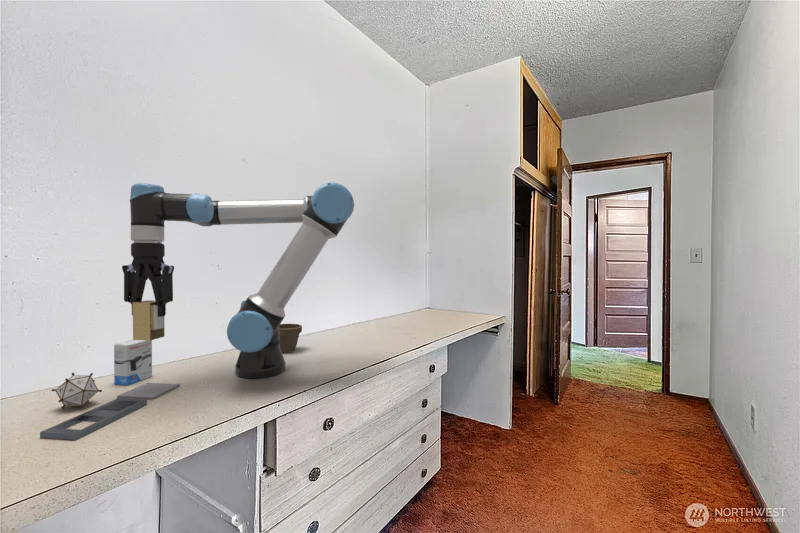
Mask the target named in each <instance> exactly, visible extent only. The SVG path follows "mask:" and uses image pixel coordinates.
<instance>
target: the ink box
mask: <svg viewBox="0 0 800 533" xmlns="http://www.w3.org/2000/svg"><path fill="white" fill-rule="evenodd" d="M152 347H153V340H151V341H149V340H133V339H130V340H129V339H128V340H125V341H121V342H117V343H115V344H114V345H113V359H114V361H113V362H114V364H113V367H114V368H113V370H114V371H113V372H114V376H113V377H114V385H119V386H120V385H121V386H130V385H133V384H136V383H139V382H141V381H143V380H147V379H148V378H152V377H153V348H152Z"/></svg>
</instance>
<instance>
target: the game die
mask: <svg viewBox="0 0 800 533" xmlns="http://www.w3.org/2000/svg"><path fill="white" fill-rule="evenodd" d="M93 374H94V373H93V372H91V373H90V374H89V375H85V374H84V375H81V374H80V375H77V374H75V372H72V373H71V376H70V377H69V378H65V379H64V382H63V383H61V384H60V385H59V386H58V387H57V388H52V389H50V391H52V392H56V395H57V396H58V398H59V400H58V401H57V402H58V403H62V406H61V407H60V408H61V410H63V409H64V408H65V407H80V409H81V410H83V409H84V405H85V404H86V403H88V402H89V401H90V399H91V398H93V397H94V396H95V395H96V394H97V393H98V392H99V393H101V392H103V390H102V389H99V388H98V387H97V385H96V383H95V379H93V378H92V376H93Z"/></svg>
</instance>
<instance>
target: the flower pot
mask: <svg viewBox="0 0 800 533" xmlns="http://www.w3.org/2000/svg"><path fill="white" fill-rule="evenodd" d="M279 327H280V349H281V351H282V354H290V353H293V352H295V351H296V348H297V346H298V342H299V338H300V334H301V333H302V330H303V325H301V324H299V323H281V324H280V325H279Z"/></svg>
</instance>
